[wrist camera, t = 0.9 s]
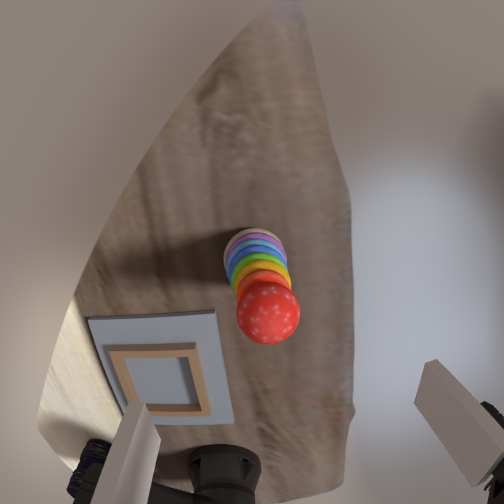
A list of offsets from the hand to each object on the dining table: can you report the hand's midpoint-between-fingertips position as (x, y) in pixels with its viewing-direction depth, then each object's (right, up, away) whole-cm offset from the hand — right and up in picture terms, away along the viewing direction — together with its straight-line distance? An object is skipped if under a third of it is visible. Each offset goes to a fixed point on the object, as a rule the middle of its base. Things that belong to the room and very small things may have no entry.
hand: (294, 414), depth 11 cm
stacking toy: (-2, +7, +28) cm, 28 cm away
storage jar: (-35, -38, +36) cm, 63 cm away
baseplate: (-16, -12, +31) cm, 37 cm away
